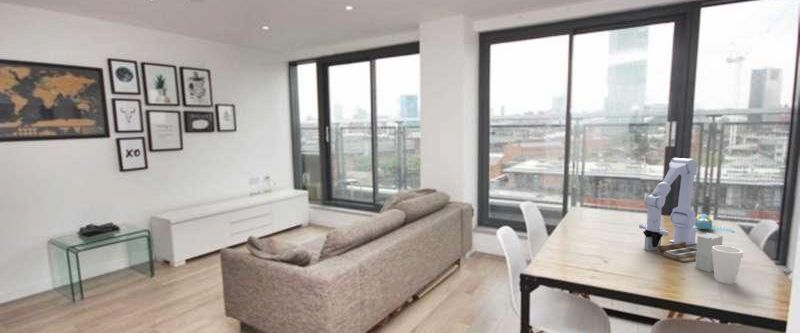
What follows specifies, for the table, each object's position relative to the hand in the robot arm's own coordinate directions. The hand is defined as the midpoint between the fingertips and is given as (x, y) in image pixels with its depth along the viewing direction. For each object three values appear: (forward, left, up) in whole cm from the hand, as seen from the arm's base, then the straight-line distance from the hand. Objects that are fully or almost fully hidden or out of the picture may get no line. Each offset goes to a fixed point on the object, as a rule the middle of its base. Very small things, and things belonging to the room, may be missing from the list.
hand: (652, 245), depth 196 cm
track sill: (-5, +13, -1) cm, 13 cm away
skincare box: (+1, +28, -2) cm, 28 cm away
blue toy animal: (-56, -16, -2) cm, 58 cm away
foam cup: (+7, +39, -2) cm, 39 cm away
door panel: (0, 0, -2) cm, 2 cm away
